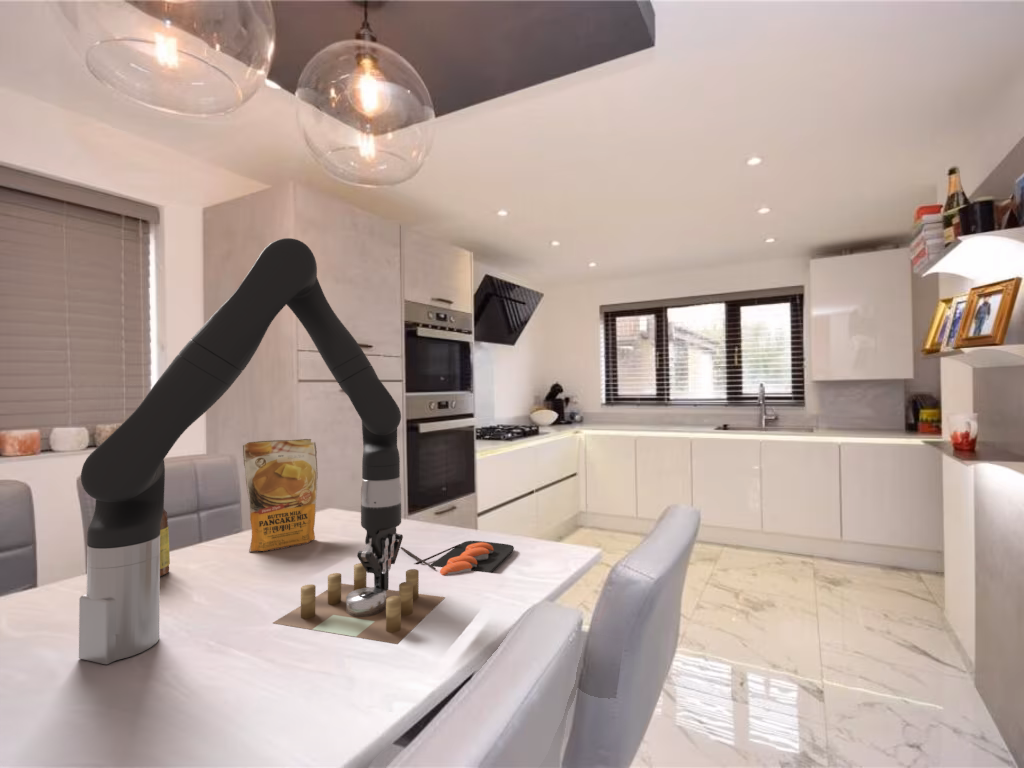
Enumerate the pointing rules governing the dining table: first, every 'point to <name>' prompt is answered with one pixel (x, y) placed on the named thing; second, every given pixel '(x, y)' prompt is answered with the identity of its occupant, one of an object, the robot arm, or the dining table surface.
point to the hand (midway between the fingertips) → (381, 591)
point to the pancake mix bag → (281, 492)
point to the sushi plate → (469, 557)
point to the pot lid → (366, 602)
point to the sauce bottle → (164, 545)
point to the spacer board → (384, 626)
